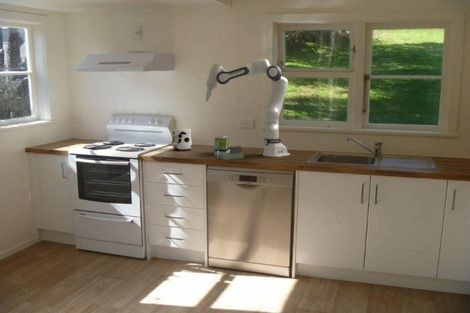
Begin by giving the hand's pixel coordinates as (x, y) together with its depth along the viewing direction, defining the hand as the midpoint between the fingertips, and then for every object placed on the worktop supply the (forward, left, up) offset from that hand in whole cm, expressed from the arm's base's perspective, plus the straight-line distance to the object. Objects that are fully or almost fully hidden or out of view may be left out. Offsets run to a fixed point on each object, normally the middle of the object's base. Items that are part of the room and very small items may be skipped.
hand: (206, 100), depth 370 cm
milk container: (+10, -29, -44) cm, 54 cm away
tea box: (-10, +8, -45) cm, 46 cm away
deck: (-7, +27, -44) cm, 52 cm away
